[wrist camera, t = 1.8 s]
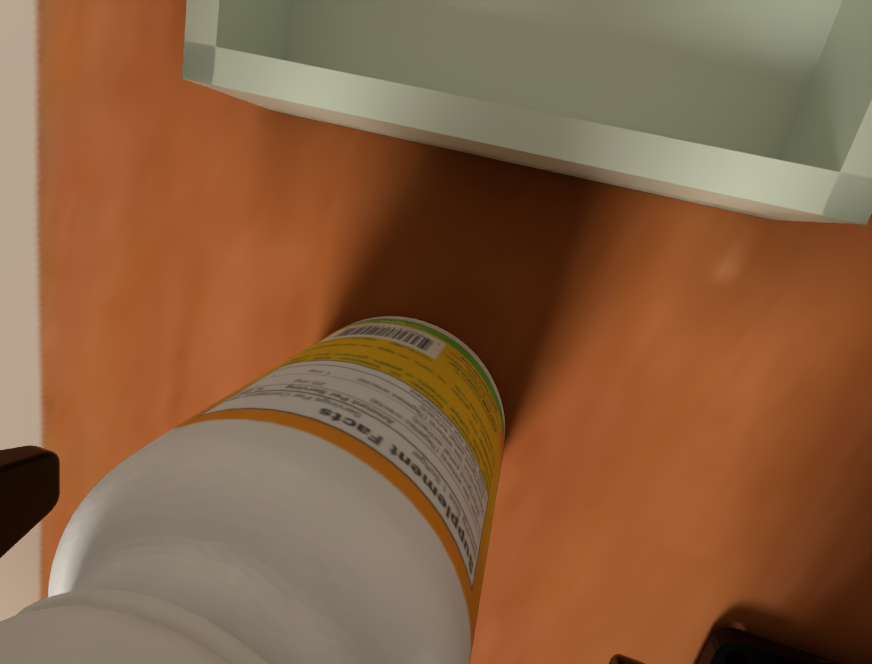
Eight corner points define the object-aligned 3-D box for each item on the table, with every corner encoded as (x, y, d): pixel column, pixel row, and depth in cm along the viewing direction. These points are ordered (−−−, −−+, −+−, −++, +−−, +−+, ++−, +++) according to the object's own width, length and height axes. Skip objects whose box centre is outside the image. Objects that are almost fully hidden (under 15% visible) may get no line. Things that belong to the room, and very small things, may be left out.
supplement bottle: (384, 538, 14) (51, 1232, 4) (266, 383, 13) (-373, 788, 4) (551, 449, 12) (577, 1259, 3) (422, 268, 12) (-59, 507, 2)
